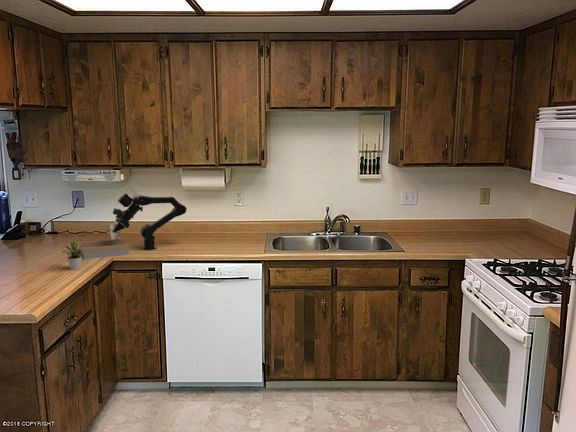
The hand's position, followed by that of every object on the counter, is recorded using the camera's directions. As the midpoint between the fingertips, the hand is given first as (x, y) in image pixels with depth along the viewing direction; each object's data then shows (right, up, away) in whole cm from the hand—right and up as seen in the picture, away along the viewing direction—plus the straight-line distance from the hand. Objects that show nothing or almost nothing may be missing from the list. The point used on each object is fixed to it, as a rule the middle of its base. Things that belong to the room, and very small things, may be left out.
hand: (112, 231), depth 296 cm
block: (+1, -4, +1) cm, 5 cm away
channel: (-5, -13, 0) cm, 14 cm away
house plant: (-10, -19, -32) cm, 38 cm away
